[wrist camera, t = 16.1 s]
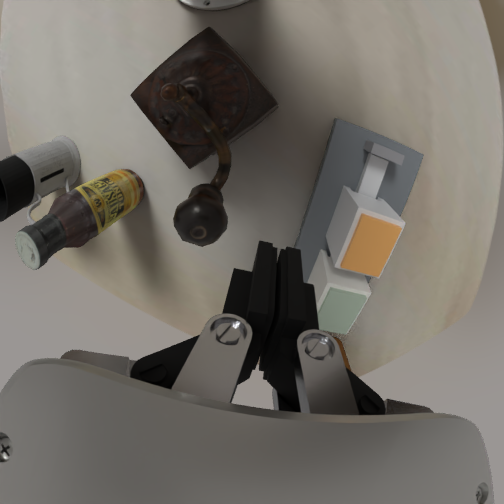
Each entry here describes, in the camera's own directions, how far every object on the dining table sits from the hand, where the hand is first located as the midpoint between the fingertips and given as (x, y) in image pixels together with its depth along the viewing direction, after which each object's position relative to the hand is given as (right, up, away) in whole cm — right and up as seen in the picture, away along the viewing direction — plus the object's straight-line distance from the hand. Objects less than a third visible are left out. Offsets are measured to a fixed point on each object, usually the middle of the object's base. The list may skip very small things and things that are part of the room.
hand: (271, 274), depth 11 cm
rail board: (+12, +3, +24) cm, 27 cm away
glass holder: (-29, +14, +24) cm, 40 cm away
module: (+12, +5, +22) cm, 25 cm away
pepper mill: (-3, +17, +19) cm, 26 cm away
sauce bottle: (-19, +10, +25) cm, 33 cm away
